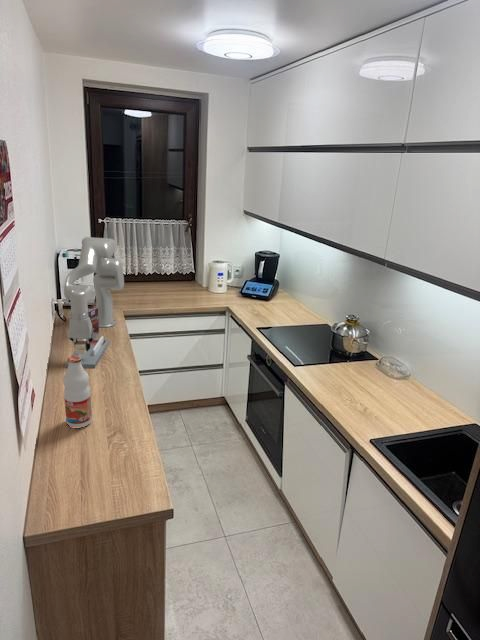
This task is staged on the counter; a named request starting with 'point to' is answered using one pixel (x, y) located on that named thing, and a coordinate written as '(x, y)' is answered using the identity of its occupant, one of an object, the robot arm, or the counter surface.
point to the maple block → (80, 347)
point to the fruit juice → (77, 394)
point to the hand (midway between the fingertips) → (82, 349)
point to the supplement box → (94, 319)
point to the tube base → (93, 353)
